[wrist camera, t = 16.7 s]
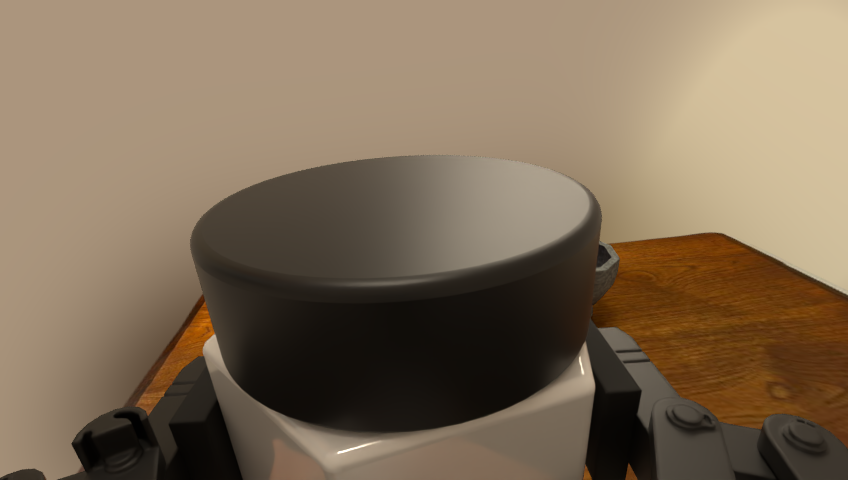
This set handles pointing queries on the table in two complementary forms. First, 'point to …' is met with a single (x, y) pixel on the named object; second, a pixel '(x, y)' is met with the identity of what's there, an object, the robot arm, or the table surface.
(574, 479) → the jar
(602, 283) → the mortar and pestle
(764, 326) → the table surface
